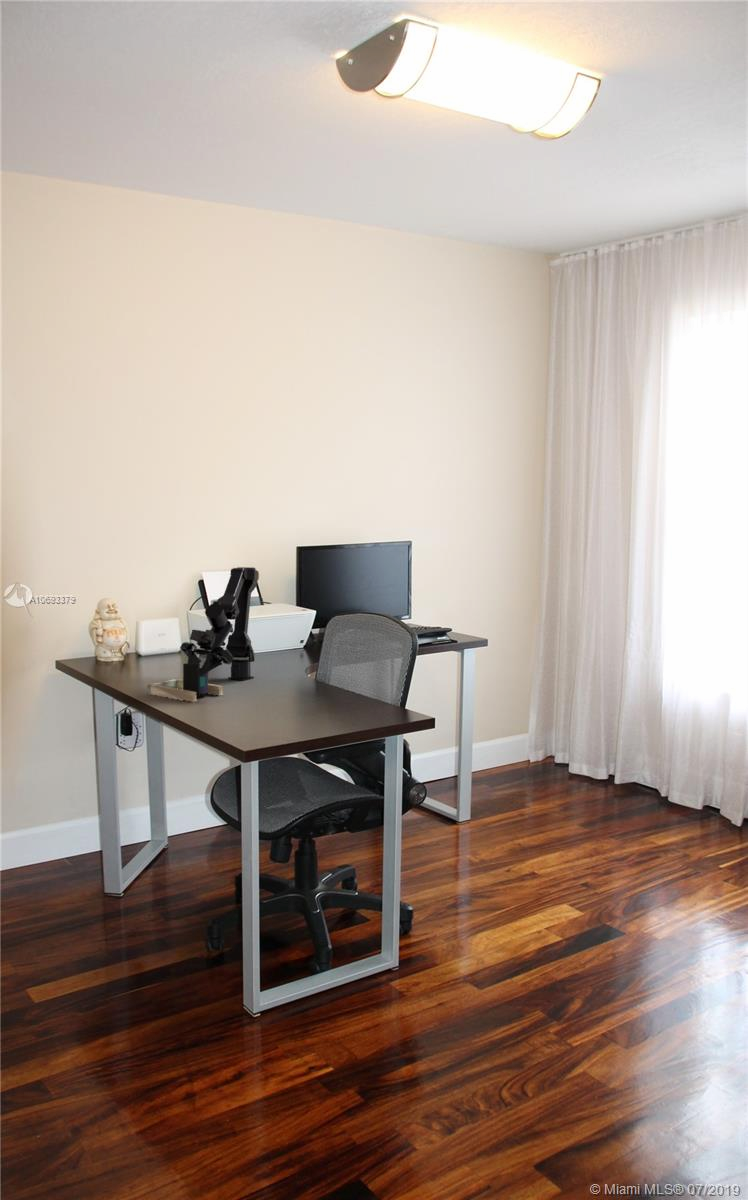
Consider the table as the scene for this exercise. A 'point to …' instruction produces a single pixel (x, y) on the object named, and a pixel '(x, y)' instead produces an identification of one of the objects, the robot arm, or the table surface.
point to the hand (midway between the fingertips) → (193, 674)
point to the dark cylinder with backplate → (194, 679)
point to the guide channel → (179, 690)
